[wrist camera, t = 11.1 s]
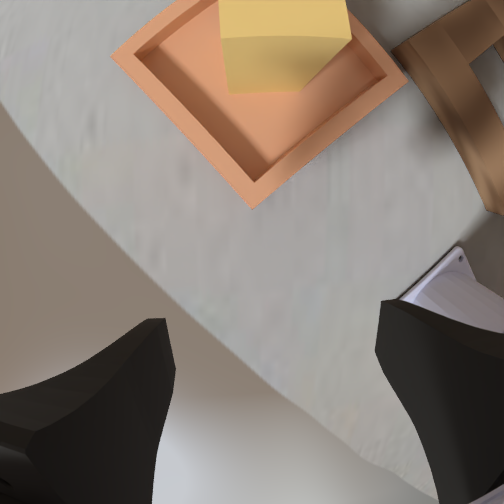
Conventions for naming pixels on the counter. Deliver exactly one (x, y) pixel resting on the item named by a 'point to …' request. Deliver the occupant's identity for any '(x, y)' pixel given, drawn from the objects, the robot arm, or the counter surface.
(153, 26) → the tray
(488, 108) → the socket block
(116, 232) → the counter surface
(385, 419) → the counter surface
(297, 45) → the peg
